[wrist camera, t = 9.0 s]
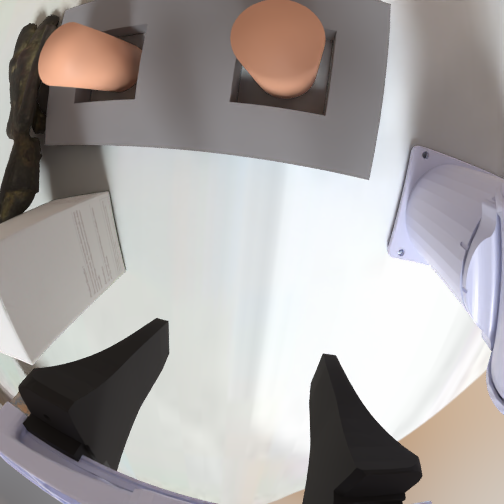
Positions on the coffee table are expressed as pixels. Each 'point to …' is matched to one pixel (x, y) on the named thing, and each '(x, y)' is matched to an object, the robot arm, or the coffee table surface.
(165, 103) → the pegboard
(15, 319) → the supplement box
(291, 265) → the coffee table surface
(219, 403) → the coffee table surface
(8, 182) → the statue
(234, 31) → the pin
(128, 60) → the pin
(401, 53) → the coffee table surface
